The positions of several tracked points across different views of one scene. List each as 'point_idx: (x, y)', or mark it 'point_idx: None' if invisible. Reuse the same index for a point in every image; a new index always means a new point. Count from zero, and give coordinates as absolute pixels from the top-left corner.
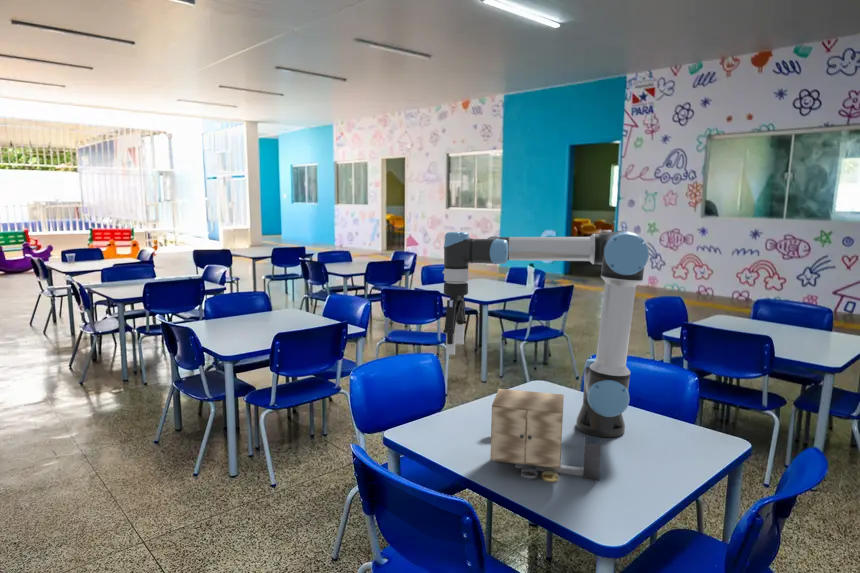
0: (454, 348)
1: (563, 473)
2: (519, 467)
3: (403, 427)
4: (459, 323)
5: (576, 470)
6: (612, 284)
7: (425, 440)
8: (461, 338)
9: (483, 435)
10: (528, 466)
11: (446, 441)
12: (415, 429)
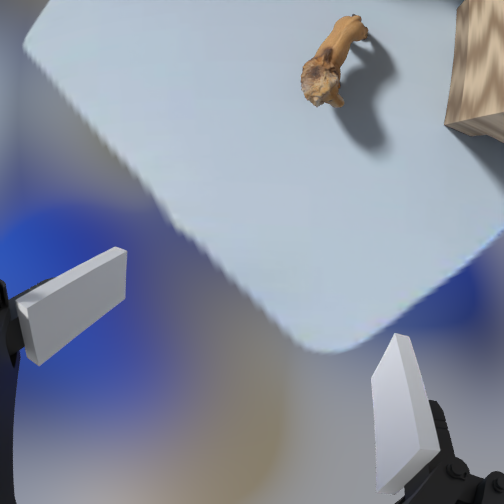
0: (416, 362)
1: None
2: None
3: (286, 326)
4: (19, 338)
5: None
6: None
7: (363, 282)
8: (102, 277)
9: (331, 137)
10: None
11: (370, 234)
12: (297, 302)
